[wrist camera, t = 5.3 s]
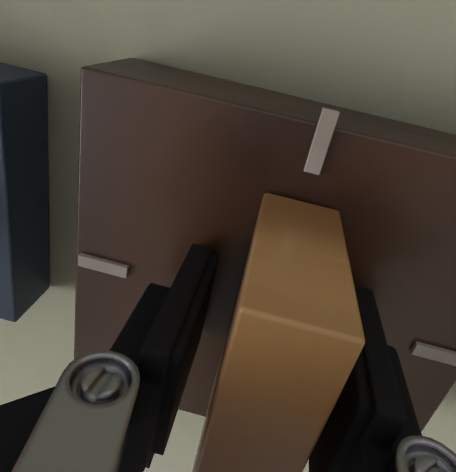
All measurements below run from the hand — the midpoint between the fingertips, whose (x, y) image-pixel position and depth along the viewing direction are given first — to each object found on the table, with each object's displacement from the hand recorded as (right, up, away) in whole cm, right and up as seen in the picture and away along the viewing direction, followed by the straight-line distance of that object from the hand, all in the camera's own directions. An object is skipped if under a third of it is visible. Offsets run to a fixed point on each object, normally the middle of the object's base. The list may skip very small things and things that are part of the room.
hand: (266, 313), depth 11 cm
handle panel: (+1, +1, +3) cm, 3 cm away
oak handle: (0, 0, 0) cm, 0 cm away
